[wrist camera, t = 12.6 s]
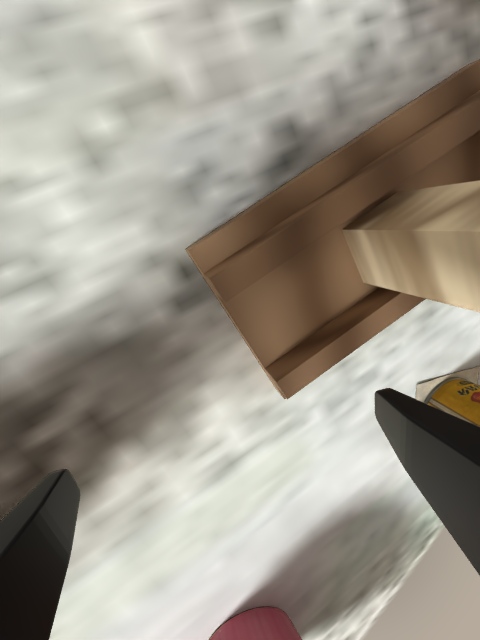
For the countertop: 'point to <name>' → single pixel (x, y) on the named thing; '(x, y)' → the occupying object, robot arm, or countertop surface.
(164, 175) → the countertop surface
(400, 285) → the tan wooden block
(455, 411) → the condiment
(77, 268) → the countertop surface
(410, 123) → the groove sill
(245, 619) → the plant pot
